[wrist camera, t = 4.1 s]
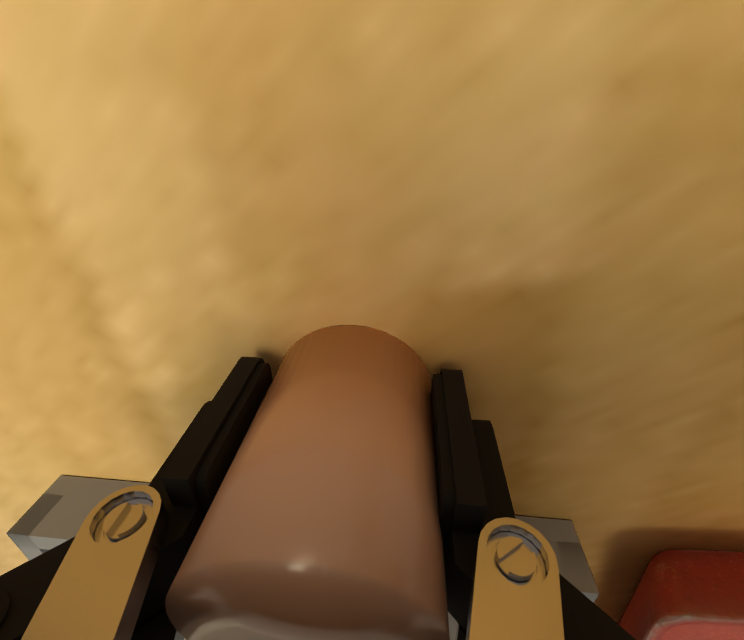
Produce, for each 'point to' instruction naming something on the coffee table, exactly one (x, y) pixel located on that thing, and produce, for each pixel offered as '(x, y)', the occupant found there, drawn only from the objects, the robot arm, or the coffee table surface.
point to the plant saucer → (689, 597)
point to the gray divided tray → (80, 495)
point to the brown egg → (325, 506)
